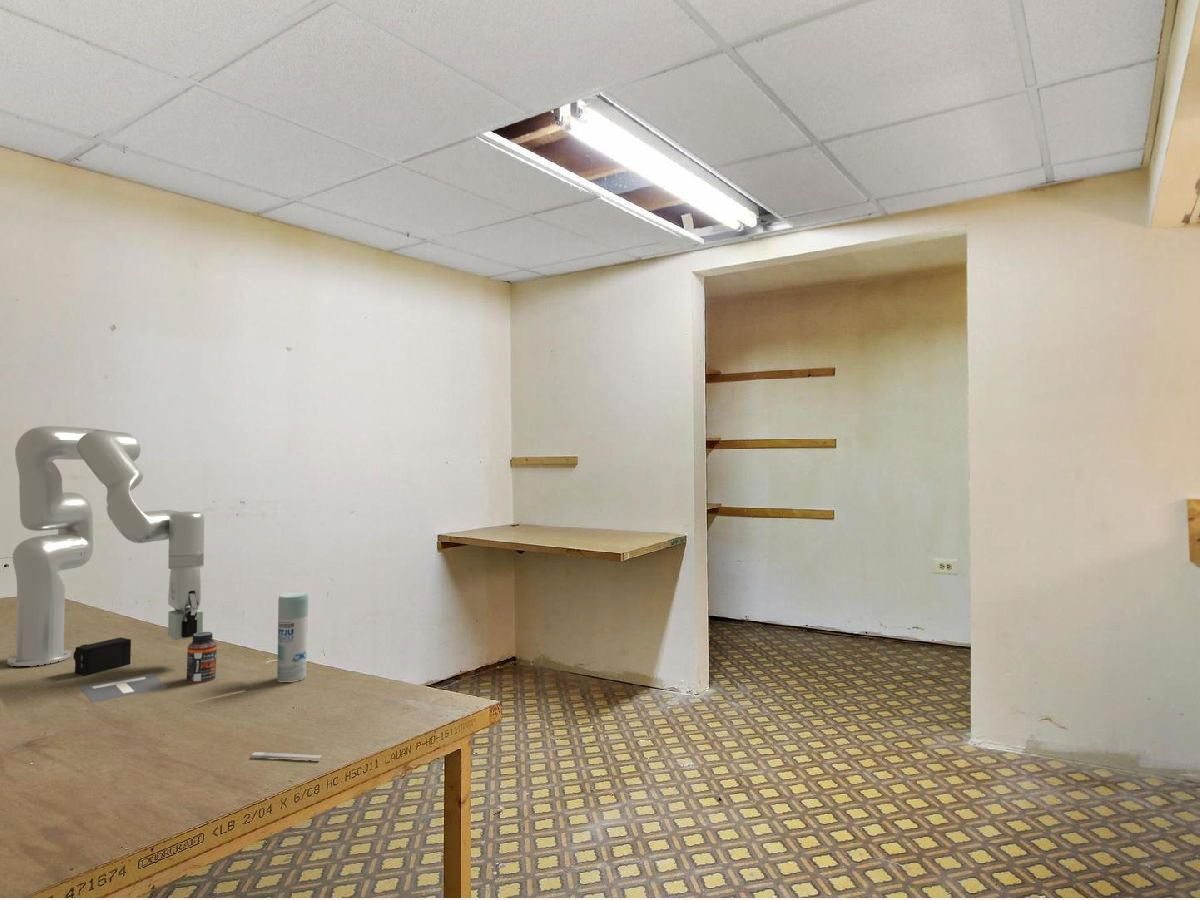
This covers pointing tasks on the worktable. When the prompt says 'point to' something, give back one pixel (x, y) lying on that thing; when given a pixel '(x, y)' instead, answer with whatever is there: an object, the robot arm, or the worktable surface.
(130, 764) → the worktable surface
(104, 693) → the board
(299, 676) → the spray paint can
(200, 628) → the sage block
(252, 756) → the light grey rod
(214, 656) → the supplement bottle
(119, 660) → the digital camera
